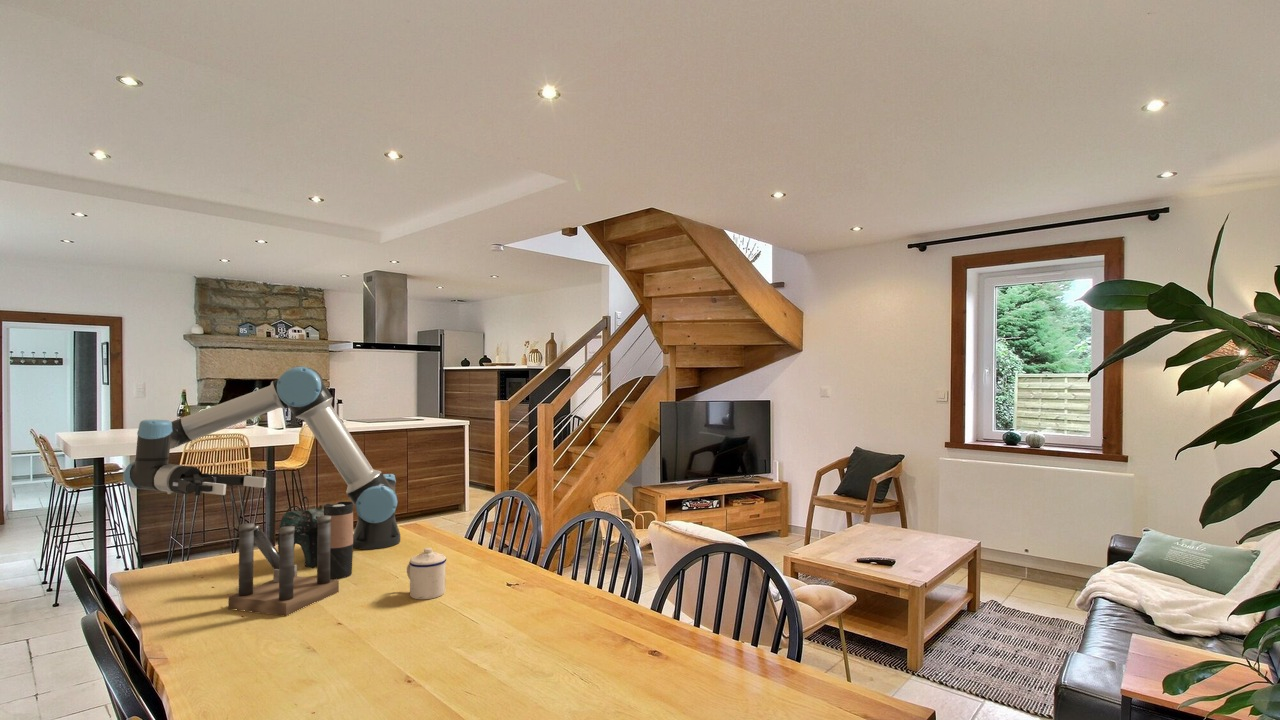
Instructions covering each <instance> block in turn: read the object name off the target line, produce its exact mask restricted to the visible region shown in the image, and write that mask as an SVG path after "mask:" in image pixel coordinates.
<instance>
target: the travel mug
mask: <svg viewBox="0 0 1280 720" xmlns="http://www.w3.org/2000/svg"><path fill="white" fill-rule="evenodd" d="M323 509H324V516H331V534H330V580H341V579H345V578H348V577H350V576H351V575H353V574H352V573H353V558H354V557H353V555H354V554H353V553H354V552H353V551H354V547H353V534H354V504H353V502H352V501H338V502H337V503H335V504H334V503H333V504H331V503H330V502H328V503H325V504H324V505H323Z"/></svg>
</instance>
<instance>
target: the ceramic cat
mask: <svg viewBox="0 0 1280 720" xmlns="http://www.w3.org/2000/svg"><path fill="white" fill-rule="evenodd" d="M305 499H306V500H307V501H306V502H307V508H306V509H302V508H301V507H299V506H298V505H292V506H290V507H288V508H287V510H286V512H285V514H283V516H282V517H281V519H280V523H279V528H281V527H286V526H294V527H295V532H294V548H295V547H296V545H298V546H300V548H301V550H302V552H303V555H304V567H305V568H310V569H315V568H317V535H318V523H317V517H319V516H324V508H323V504H320V505H319V506H317V508H316V506H315V505H312V507H311V508H310V506H309V498H308V497H307V496H303V497H302V498H301V501H304V500H305ZM294 508H297V510H291V509H294ZM290 510H291V511H290ZM279 528H278V529H279ZM277 551H278V552H279V551H280V534H279V533H278V534H277Z"/></svg>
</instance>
